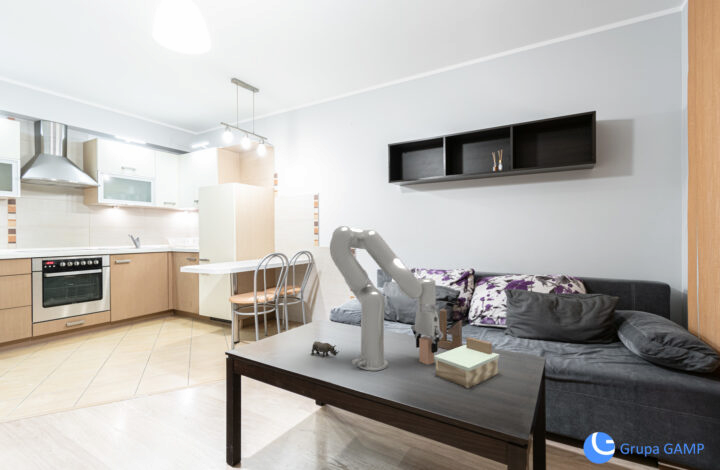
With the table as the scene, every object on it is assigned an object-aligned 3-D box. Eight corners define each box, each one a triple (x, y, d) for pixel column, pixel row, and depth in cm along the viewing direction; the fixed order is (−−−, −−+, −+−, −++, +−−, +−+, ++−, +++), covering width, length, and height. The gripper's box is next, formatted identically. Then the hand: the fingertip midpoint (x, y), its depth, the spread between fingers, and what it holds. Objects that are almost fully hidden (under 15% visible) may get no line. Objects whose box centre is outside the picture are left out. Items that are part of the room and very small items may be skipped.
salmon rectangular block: (427, 364, 135) (427, 340, 135) (419, 361, 138) (419, 338, 139) (433, 362, 137) (433, 338, 138) (425, 359, 141) (425, 336, 141)
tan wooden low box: (468, 388, 113) (468, 371, 114) (435, 375, 124) (435, 359, 124) (497, 373, 126) (497, 358, 126) (465, 363, 137) (465, 348, 137)
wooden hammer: (459, 352, 150) (459, 313, 150) (437, 347, 157) (437, 310, 157) (462, 350, 153) (462, 311, 153) (441, 345, 160) (440, 308, 160)
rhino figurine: (336, 360, 141) (336, 346, 141) (309, 355, 146) (309, 341, 146) (341, 356, 144) (341, 343, 145) (314, 352, 150) (314, 339, 150)
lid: (468, 371, 113) (468, 356, 113) (433, 359, 125) (433, 345, 125) (499, 357, 126) (499, 344, 126) (465, 347, 138) (465, 335, 138)
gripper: (449, 310, 134) (449, 353, 134) (416, 303, 147) (416, 342, 147) (437, 312, 129) (437, 357, 129) (405, 305, 143) (405, 346, 142)
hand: (426, 349), depth 138 cm, fingers open, 7 cm apart
